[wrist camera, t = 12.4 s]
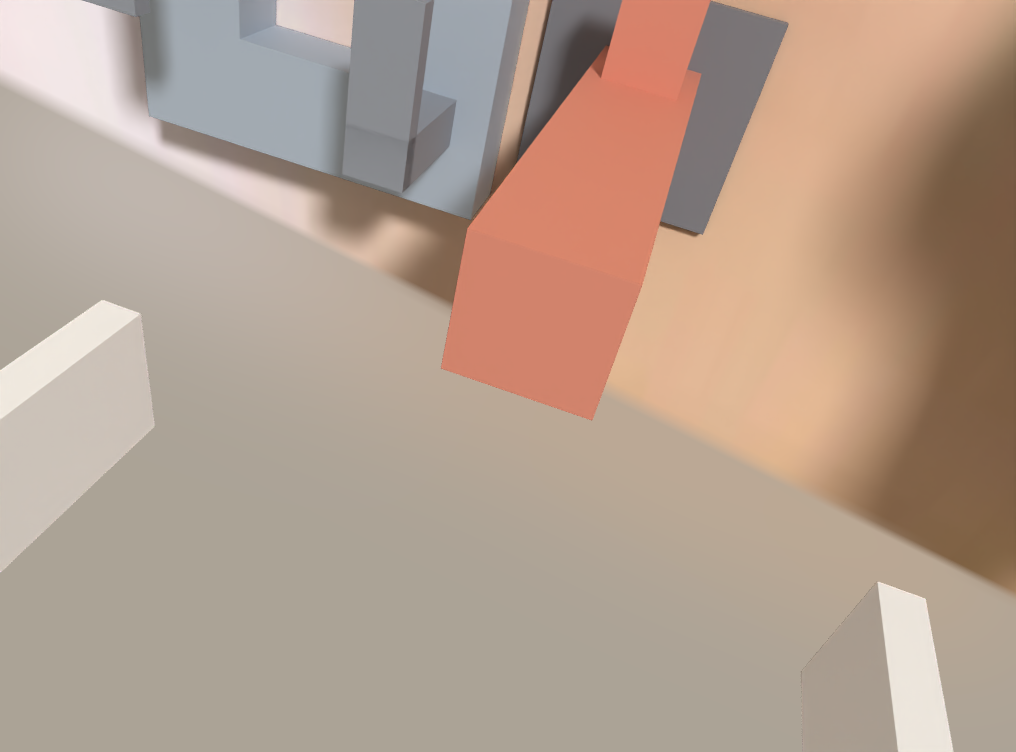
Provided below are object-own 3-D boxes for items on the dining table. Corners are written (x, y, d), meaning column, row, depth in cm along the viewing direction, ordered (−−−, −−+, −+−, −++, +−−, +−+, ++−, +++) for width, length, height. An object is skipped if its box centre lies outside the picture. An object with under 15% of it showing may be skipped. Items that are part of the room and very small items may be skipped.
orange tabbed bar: (634, -60, 28) (501, 50, 14) (738, -31, 28) (705, 112, 14) (559, 216, 36) (421, 471, 21) (641, 243, 35) (555, 519, 21)
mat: (788, 22, 29) (788, 25, 29) (703, 230, 34) (702, 234, 34) (563, -42, 30) (561, -40, 29) (516, 171, 35) (513, 175, 35)
